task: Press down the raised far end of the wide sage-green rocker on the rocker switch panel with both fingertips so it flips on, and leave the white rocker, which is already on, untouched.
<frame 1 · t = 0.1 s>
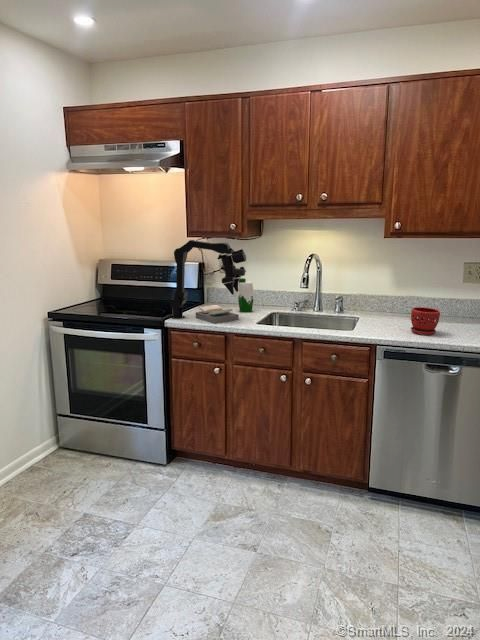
hand: (235, 293, 257), 15 cm above the counter, tool pointing down, fingers open, 9 cm apart
rocker switch panel: (216, 318, 264), on the counter
milk carton: (245, 311, 285), on the counter
green rocker: (220, 312, 260), point 5 cm above the counter, hinge at -12.0°
plant pot: (423, 333, 230), on the counter
white rocker: (210, 309, 268), point 5 cm above the counter, hinge at 12.0°
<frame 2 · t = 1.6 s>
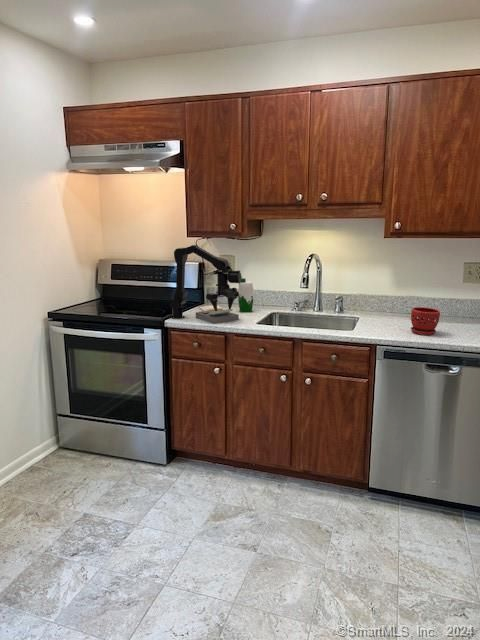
hand: (223, 310, 258), 6 cm above the counter, tool pointing down
green rocker: (220, 312, 260), point 5 cm above the counter, hinge at -11.9°, touching gripper
everything else where it was.
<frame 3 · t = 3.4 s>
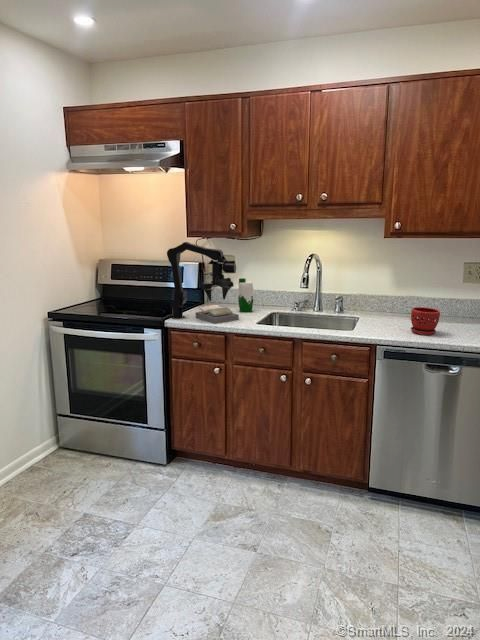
hand: (217, 300, 261), 11 cm above the counter, tool pointing down, fingers open, 9 cm apart
green rocker: (220, 312, 260), point 5 cm above the counter, hinge at 14.0°
everything else where it was.
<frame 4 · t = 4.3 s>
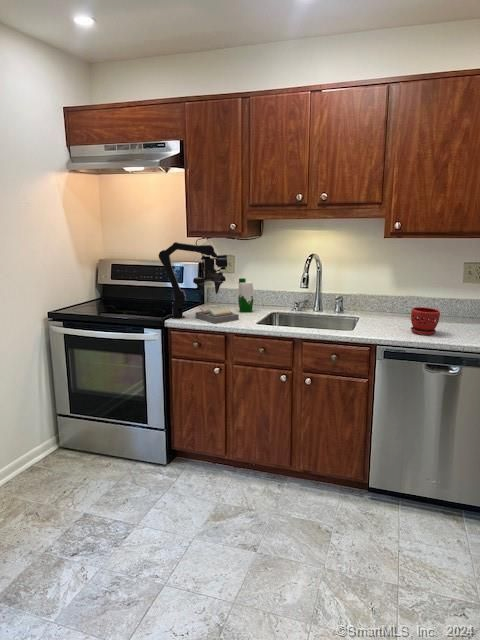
hand: (209, 294, 267), 13 cm above the counter, tool pointing down, fingers open, 9 cm apart
green rocker: (220, 312, 260), point 5 cm above the counter, hinge at 20.7°
everything else where it was.
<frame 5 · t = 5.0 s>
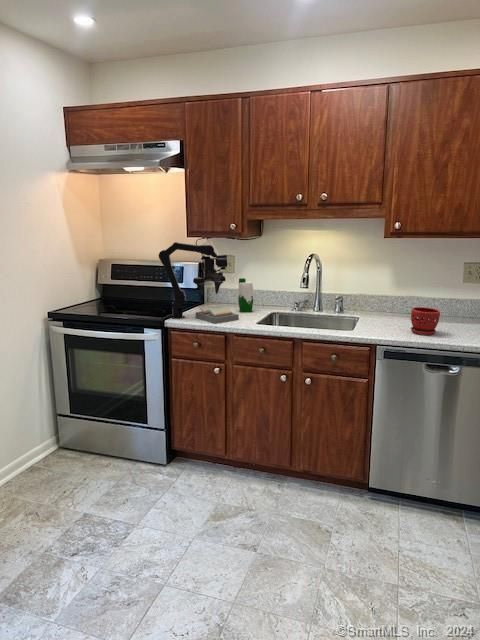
hand: (209, 294, 267), 13 cm above the counter, tool pointing down, fingers open, 9 cm apart
green rocker: (220, 312, 260), point 5 cm above the counter, hinge at 23.2°, touching rocker switch panel
everything else where it was.
at the end: green rocker at +22° (first picture: -12°); white rocker at +12° (first picture: +12°); milk carton moved 0.2 cm from its start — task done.
